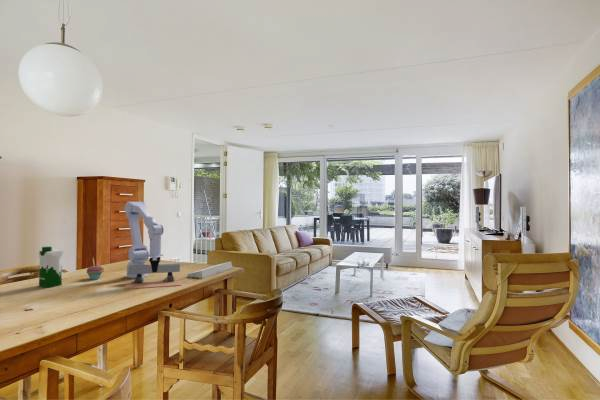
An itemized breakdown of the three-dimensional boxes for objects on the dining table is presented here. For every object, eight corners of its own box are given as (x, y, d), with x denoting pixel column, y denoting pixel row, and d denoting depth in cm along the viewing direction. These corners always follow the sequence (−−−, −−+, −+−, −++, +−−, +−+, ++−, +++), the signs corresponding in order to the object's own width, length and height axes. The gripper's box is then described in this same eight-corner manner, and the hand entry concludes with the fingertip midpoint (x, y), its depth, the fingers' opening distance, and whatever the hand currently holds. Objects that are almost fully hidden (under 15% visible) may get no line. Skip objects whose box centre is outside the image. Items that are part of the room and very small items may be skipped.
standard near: (133, 284, 185) (133, 275, 185) (135, 280, 195) (135, 271, 195) (142, 284, 186) (142, 274, 186) (143, 279, 197) (143, 270, 197)
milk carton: (35, 286, 177) (36, 246, 177) (54, 282, 185) (55, 245, 185) (46, 288, 173) (47, 248, 173) (64, 284, 182) (65, 246, 182)
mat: (124, 289, 175) (124, 288, 175) (126, 285, 184) (126, 284, 184) (181, 285, 185) (181, 284, 185) (180, 281, 194) (180, 281, 194)
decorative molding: (188, 282, 205) (202, 279, 202) (187, 274, 206) (201, 270, 203) (220, 271, 238) (232, 268, 235) (218, 264, 238) (231, 261, 235)
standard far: (165, 282, 191) (166, 273, 191) (165, 278, 201) (165, 269, 201) (174, 282, 192) (174, 273, 192) (173, 277, 202) (174, 269, 202)
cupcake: (82, 279, 194) (83, 257, 194) (96, 276, 202) (97, 255, 202) (93, 280, 191) (93, 259, 191) (107, 277, 199) (107, 256, 199)
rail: (128, 274, 187) (128, 266, 187) (129, 272, 190) (129, 265, 190) (179, 271, 196) (179, 264, 196) (179, 270, 200) (179, 263, 200)
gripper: (163, 248, 188) (162, 273, 188) (163, 244, 202) (162, 268, 202) (148, 248, 185) (148, 274, 185) (149, 245, 199) (149, 269, 199)
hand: (154, 271), depth 193 cm, fingers closed on rail, 4 cm apart
